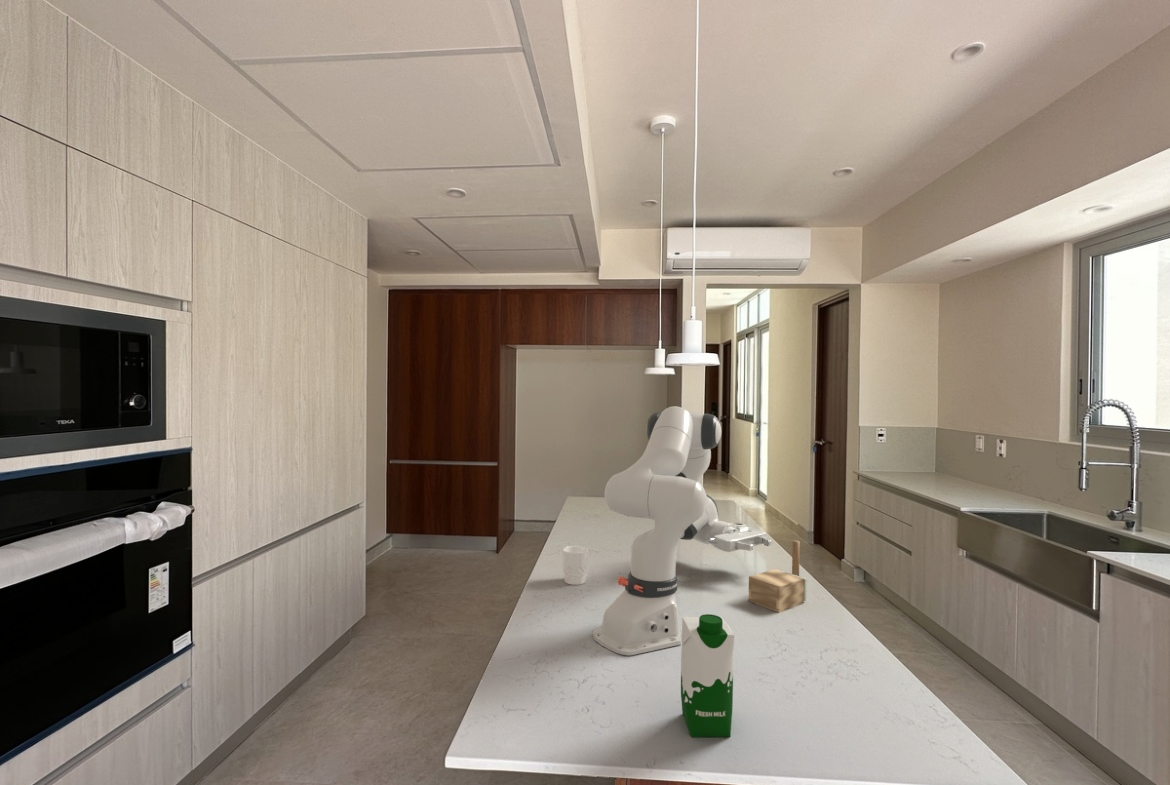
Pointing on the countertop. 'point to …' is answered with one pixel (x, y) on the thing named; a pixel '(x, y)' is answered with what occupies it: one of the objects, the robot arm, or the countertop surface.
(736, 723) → the countertop surface
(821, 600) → the countertop surface
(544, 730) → the countertop surface
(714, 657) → the milk carton
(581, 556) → the white cup
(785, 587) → the tan wooden block
